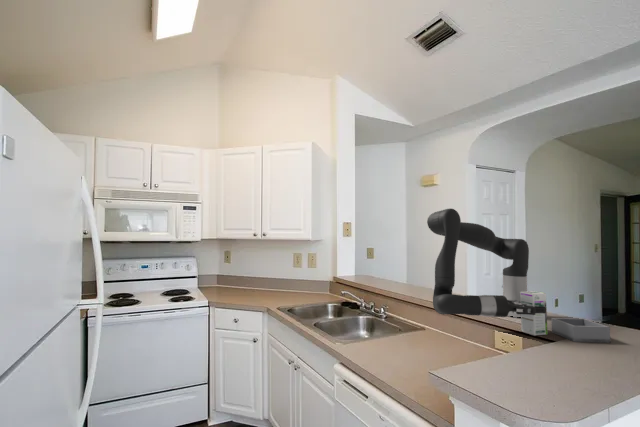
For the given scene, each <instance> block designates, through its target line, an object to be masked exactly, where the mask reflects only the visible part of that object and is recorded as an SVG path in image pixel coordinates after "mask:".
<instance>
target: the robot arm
mask: <svg viewBox="0 0 640 427" xmlns="http://www.w3.org/2000/svg"><path fill="white" fill-rule="evenodd" d="M426 223H427V227H428V229H429V230H430V231H431V232H433V233H434V234H435V235H437V236H443V237H444V241H443V243H442V247H441V249H440V252H439V253H438V256H437V258H436V260H435V261H436V262H435V265H434V289H433V293H432V294H433V295H432V306H433V309H434V311H435V312H436V313H438V314H439V315H467V316H478V317H479V316H481V317H487V318H488V317H489V318H490V317H491V318H507V317H510V316H513V317H512V318H517V317H521V314H527V315H535V313H546V308H547V306H546V307H543V306H529V305H527V304H524V303H521V297H520V292H524V291H528V270H529V258H530V257H529V256H530V251H529V250H530V249H529V245H528V242H527V241H526V240H525V239H524V238H503V237H498V236H496V234H495V232H494V231H493V230H492V229H490V228H488V227H486V226H484V225H482V224H478V223H473V222H462V220H461V216H460V214H459V212H458V210H456V209H455V208H445V209H441V210H438V211H435V212H433V213H431V214H430V215H429V216H428V217H427V222H426ZM459 241H460V242H462V243H464V244H467V245H470V246H472V247H474V248H477V249H481V250H484V251H488V252H491V253H493V254H494V255H497V256H498V257H500V258H502V259H504V260H511V261H512V264H511V265H510V266H509V265H508V266H507V267H504V268H503V269H502V295H493V294H492V295H491V294H483V295H471V294H470V295H469V294H468V295H467V294H466V295H463V294H462V295H461V294H453V288H454V287H455V281H456V280H455V279H456V276H455V275H456V267H455V266H456V256H457V255H456V254H457V251H458V250H457V249H458V244H459ZM523 306H524V307H523ZM528 309H531V311H528Z"/></svg>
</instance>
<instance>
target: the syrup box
mask: <svg viewBox="0 0 640 427" xmlns="http://www.w3.org/2000/svg"><path fill="white" fill-rule="evenodd" d="M520 297H521V303H524V304H527V305H529V306H543V307H546V313H535V315H527V314H521V318H520V319H521V324H520V325H521V331H522V332H523V333H525V334H529V335H531V336H534V337H536V336H543V335H545V336H546V335H547V336H548V313H547V312H548V311H547V293H546V292H542V291H537V290H535V291H534V290H532V291H528V290H527V291H524V292H520ZM523 307H524V306H523ZM528 311H531V309H528Z"/></svg>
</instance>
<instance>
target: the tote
mask: <svg viewBox="0 0 640 427" xmlns="http://www.w3.org/2000/svg"><path fill="white" fill-rule="evenodd" d="M550 319H551V324H550V325H551V333H552V334H555V335H557V336H559V337H562V338H564V339H566V340H568V341H571V342H574V343H605V344H607V343H608V344H609V343H611V328H610V326H607V325H604V324H602V323H599V322H595V321H592V320H589V319H586V318H571V317H570V318H566V317H562V318H561V317H550Z"/></svg>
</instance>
